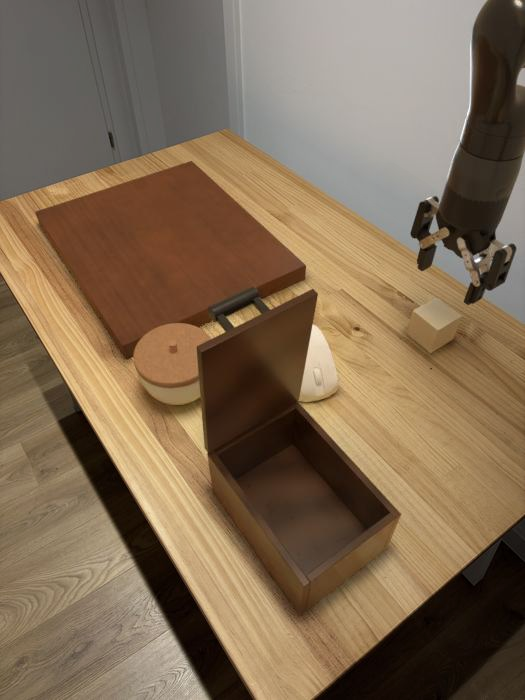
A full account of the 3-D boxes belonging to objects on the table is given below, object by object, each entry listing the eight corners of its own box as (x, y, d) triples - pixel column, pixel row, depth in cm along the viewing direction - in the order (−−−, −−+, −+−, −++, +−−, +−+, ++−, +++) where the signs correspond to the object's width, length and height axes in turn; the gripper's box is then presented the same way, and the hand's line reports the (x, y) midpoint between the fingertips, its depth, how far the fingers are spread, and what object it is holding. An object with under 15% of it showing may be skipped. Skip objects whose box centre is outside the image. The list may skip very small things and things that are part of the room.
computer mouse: (297, 407, 76) (299, 379, 71) (271, 340, 84) (271, 311, 80) (341, 397, 77) (346, 368, 72) (311, 332, 86) (313, 303, 81)
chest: (387, 548, 63) (401, 514, 56) (299, 615, 58) (303, 587, 52) (294, 440, 73) (296, 400, 66) (212, 490, 68) (206, 453, 61)
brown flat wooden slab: (193, 173, 116) (39, 225, 104) (191, 160, 114) (34, 211, 102) (305, 279, 94) (126, 359, 82) (306, 265, 92) (122, 345, 80)
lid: (318, 293, 51) (284, 259, 54) (200, 352, 46) (169, 311, 49) (299, 400, 65) (272, 369, 68) (208, 453, 61) (183, 418, 63)
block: (429, 320, 87) (436, 297, 83) (453, 339, 84) (461, 316, 81) (406, 333, 85) (412, 310, 82) (430, 353, 83) (437, 330, 79)
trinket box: (207, 351, 83) (202, 306, 76) (227, 406, 76) (223, 362, 69) (136, 369, 81) (124, 324, 74) (150, 427, 74) (138, 384, 67)
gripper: (552, 198, 62) (505, 302, 75) (455, 146, 70) (427, 248, 82) (508, 221, 60) (467, 325, 72) (413, 164, 67) (390, 267, 80)
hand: (446, 284), depth 77 cm, fingers open, 8 cm apart
